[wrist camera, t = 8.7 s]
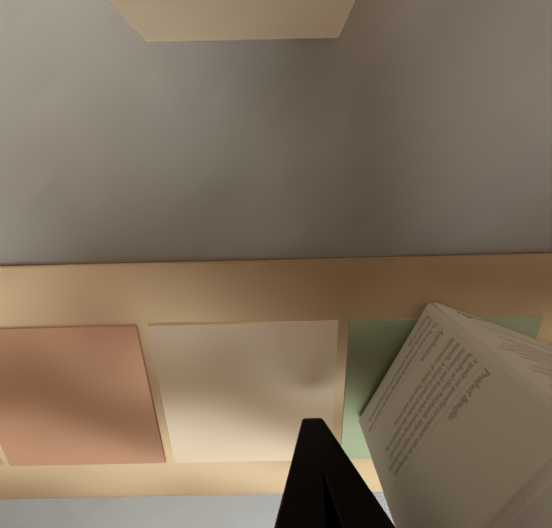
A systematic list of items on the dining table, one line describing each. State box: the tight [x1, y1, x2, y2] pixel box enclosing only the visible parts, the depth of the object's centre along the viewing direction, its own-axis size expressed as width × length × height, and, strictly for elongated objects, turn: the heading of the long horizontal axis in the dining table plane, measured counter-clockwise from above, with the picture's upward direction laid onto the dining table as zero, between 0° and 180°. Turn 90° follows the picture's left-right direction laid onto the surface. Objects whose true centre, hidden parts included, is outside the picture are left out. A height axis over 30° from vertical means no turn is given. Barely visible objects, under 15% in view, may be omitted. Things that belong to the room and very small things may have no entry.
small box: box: [359, 302, 552, 528], centre depth 8 cm, size 6×6×5 cm
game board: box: [0, 253, 552, 499], centre depth 10 cm, size 11×29×1 cm, turn 91°
